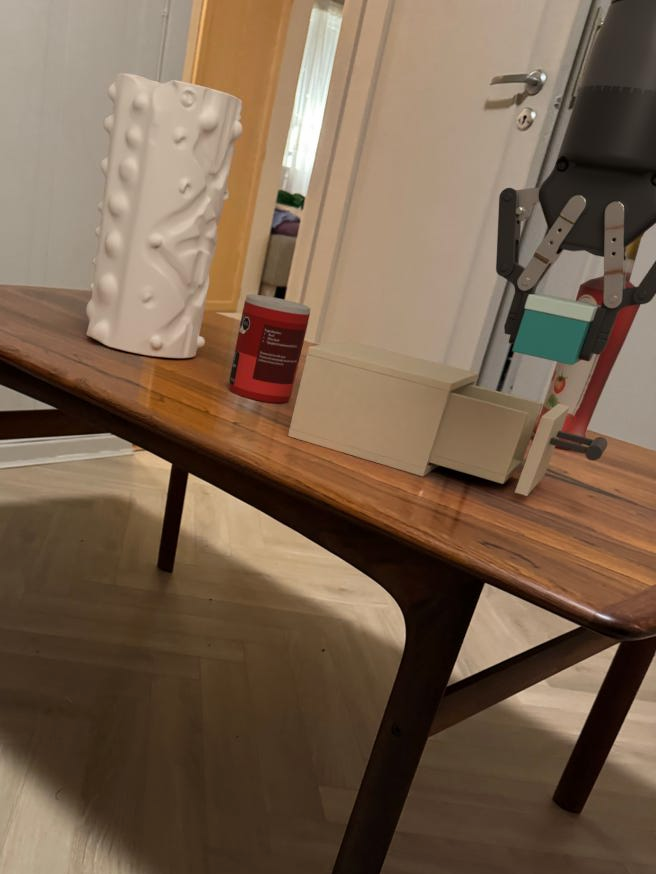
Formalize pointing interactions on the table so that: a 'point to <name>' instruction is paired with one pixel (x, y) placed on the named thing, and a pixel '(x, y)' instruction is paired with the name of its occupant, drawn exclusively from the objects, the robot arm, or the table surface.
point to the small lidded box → (554, 328)
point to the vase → (160, 213)
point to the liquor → (588, 378)
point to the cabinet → (374, 403)
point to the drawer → (503, 436)
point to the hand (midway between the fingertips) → (550, 350)
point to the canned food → (268, 348)
